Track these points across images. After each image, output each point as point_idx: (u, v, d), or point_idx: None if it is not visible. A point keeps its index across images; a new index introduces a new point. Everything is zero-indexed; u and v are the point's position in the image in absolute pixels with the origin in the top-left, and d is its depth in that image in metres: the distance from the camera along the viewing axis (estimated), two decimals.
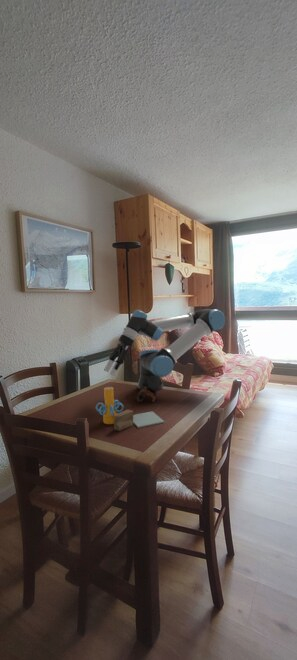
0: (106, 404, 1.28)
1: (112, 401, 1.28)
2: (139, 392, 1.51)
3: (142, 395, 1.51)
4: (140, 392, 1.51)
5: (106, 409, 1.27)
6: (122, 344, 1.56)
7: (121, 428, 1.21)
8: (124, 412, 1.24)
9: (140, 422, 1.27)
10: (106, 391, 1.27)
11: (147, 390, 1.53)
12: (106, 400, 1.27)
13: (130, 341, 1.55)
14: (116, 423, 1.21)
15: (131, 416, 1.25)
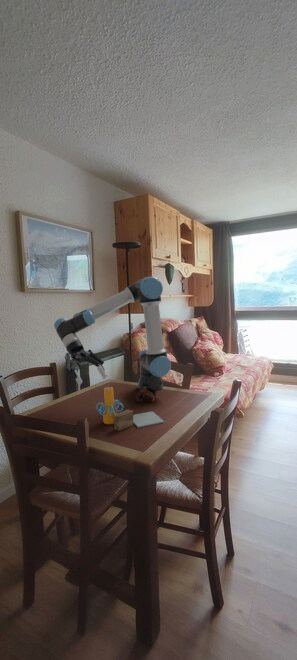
0: (106, 404, 1.28)
1: (112, 401, 1.28)
2: (139, 392, 1.51)
3: (142, 395, 1.52)
4: (140, 392, 1.51)
5: (106, 409, 1.27)
6: None
7: (121, 428, 1.21)
8: (124, 412, 1.24)
9: (140, 422, 1.27)
10: (106, 391, 1.27)
11: (147, 390, 1.53)
12: (106, 400, 1.27)
13: (69, 347, 1.41)
14: (116, 423, 1.21)
15: (131, 416, 1.25)
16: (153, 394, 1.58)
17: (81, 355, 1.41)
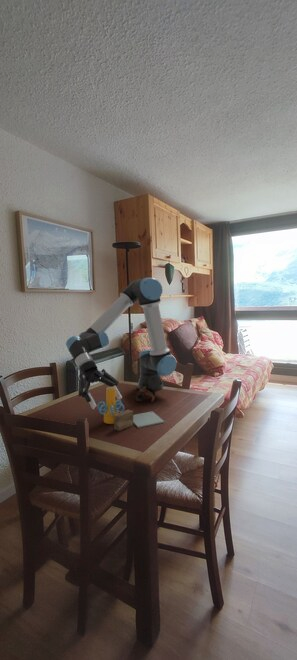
0: (107, 403, 1.28)
1: (113, 401, 1.28)
2: (138, 392, 1.52)
3: (141, 395, 1.52)
4: (139, 392, 1.52)
5: (107, 408, 1.27)
6: None
7: (121, 428, 1.21)
8: (124, 412, 1.24)
9: (140, 422, 1.27)
10: (108, 390, 1.27)
11: (146, 390, 1.53)
12: (107, 400, 1.27)
13: (82, 367, 1.34)
14: (116, 423, 1.21)
15: (131, 416, 1.25)
16: (152, 394, 1.59)
17: (95, 376, 1.34)
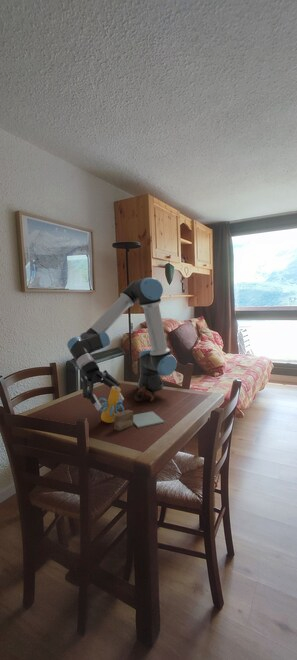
0: (108, 402, 1.27)
1: (115, 402, 1.27)
2: None
3: (140, 394, 1.53)
4: (138, 391, 1.52)
5: (107, 407, 1.27)
6: None
7: (121, 428, 1.21)
8: (124, 412, 1.24)
9: (140, 422, 1.27)
10: (112, 390, 1.26)
11: (145, 389, 1.54)
12: (110, 399, 1.27)
13: (84, 368, 1.34)
14: (116, 423, 1.21)
15: (131, 416, 1.25)
16: (152, 393, 1.60)
17: (97, 377, 1.34)
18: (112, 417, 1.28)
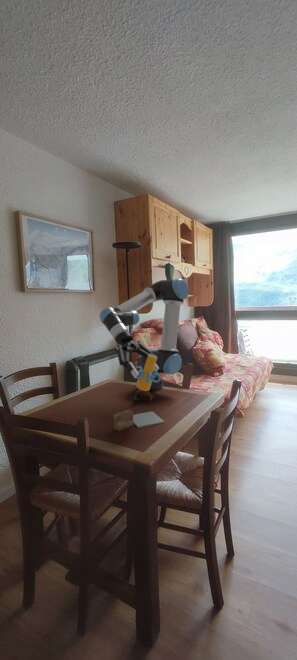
0: (145, 370, 1.25)
1: (151, 370, 1.25)
2: (137, 391, 1.53)
3: (140, 394, 1.53)
4: (138, 391, 1.53)
5: (143, 375, 1.25)
6: None
7: (121, 428, 1.21)
8: (124, 412, 1.24)
9: (140, 422, 1.27)
10: (149, 358, 1.24)
11: None
12: (146, 366, 1.25)
13: (118, 337, 1.32)
14: (116, 423, 1.21)
15: (131, 416, 1.25)
16: (151, 393, 1.60)
17: (131, 346, 1.32)
18: (148, 385, 1.26)
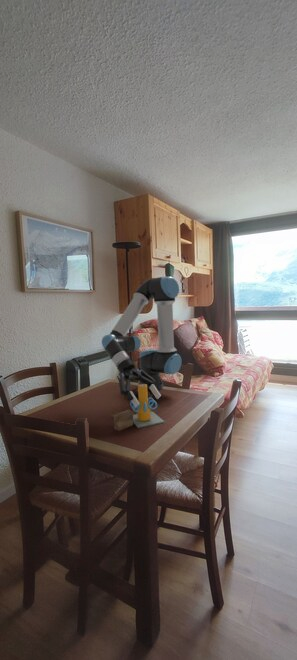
0: (140, 401, 1.28)
1: (146, 398, 1.28)
2: (136, 391, 1.54)
3: None
4: (137, 391, 1.54)
5: (140, 406, 1.28)
6: None
7: (121, 428, 1.21)
8: (124, 412, 1.24)
9: (140, 422, 1.27)
10: (139, 388, 1.27)
11: None
12: (140, 397, 1.28)
13: (120, 365, 1.33)
14: (116, 423, 1.21)
15: (131, 416, 1.25)
16: (149, 393, 1.61)
17: (133, 374, 1.34)
18: (148, 414, 1.28)
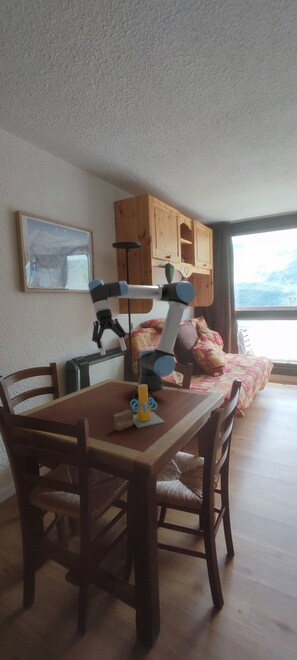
0: (140, 401, 1.28)
1: (146, 398, 1.28)
2: (135, 390, 1.54)
3: None
4: (136, 390, 1.54)
5: (140, 406, 1.28)
6: None
7: (121, 428, 1.21)
8: (124, 412, 1.24)
9: (140, 422, 1.27)
10: (140, 388, 1.27)
11: None
12: (140, 397, 1.27)
13: (99, 313, 1.43)
14: (116, 423, 1.21)
15: (131, 416, 1.25)
16: (148, 392, 1.62)
17: (108, 324, 1.45)
18: (148, 414, 1.27)
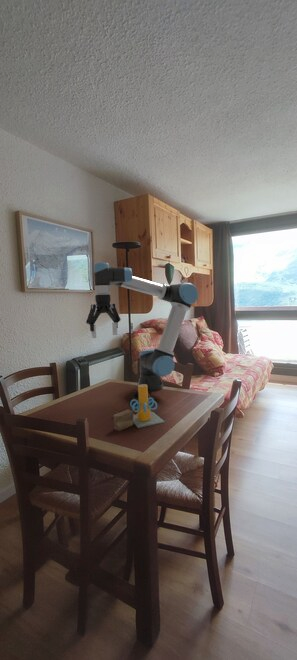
0: (140, 401, 1.28)
1: (146, 398, 1.28)
2: (134, 390, 1.55)
3: (137, 393, 1.55)
4: (135, 390, 1.55)
5: (140, 406, 1.28)
6: None
7: (121, 428, 1.21)
8: (124, 412, 1.24)
9: (140, 422, 1.27)
10: (140, 388, 1.27)
11: None
12: (140, 397, 1.27)
13: (98, 297, 1.47)
14: (116, 423, 1.21)
15: (131, 416, 1.25)
16: (148, 392, 1.62)
17: (105, 309, 1.50)
18: (148, 414, 1.27)
